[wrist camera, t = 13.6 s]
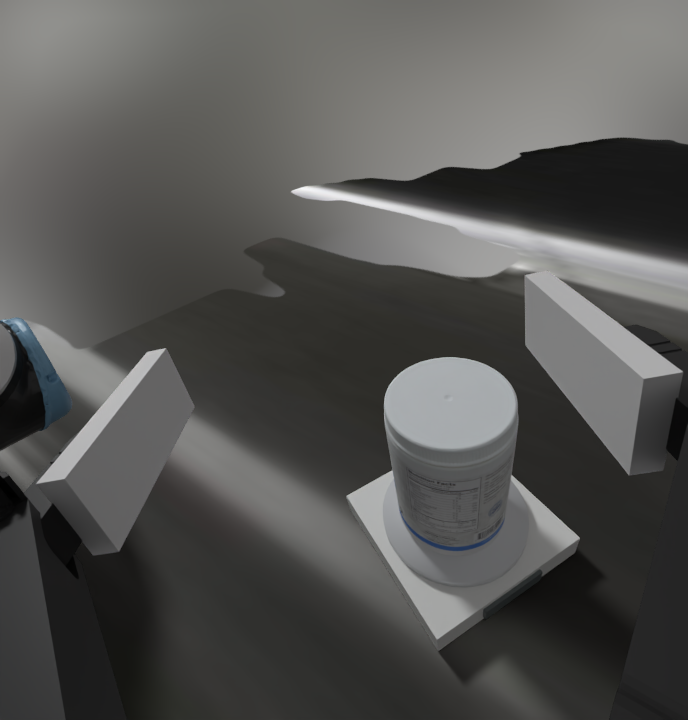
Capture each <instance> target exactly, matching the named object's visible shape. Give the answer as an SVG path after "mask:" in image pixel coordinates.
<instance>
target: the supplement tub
mask: <svg viewBox="0 0 688 720" xmlns="http://www.w3.org/2000/svg"><path fill="white" fill-rule="evenodd" d="M384 421H385V428H386V435H387V441H388V446H389V452H390V458H391V464H392V469H393V476H394V482H395V488H396V494H397V500H398V506H399V511H400V515H401V519H402V521H403V524H404V525H405V527H406V529H407V530H408V532H409V533H410V534H411V535H412V537H413V538H414V539H415V540H416V541H418V542H419V543H420V544H422V545H423V546H425V547H426V548H428V549H430V550H432V551H434V552H437V553H441V554H445V555H451V556H462V555H469V554H472V553H476V552H478V551H480V550H482V549H484V548H486V547H487V546H488V545H490V544H491V543H492V542H493V541H494V540H495V539H496V538H497V536H498V535H499V533H500V532H501V530H502V528H503V525H504V522H505V517H506V509H507V502H508V495H509V489H510V481H511V474H512V466H513V459H514V452H515V445H516V438H517V430H518V401H517V396H516V394H515V391H514V389H513V387H512V386H511V384H510V383H509V382H508V381H507V379H506V378H505V377H504V376H503V375H501V374H500V373H499V372H497V371H496V370H494V369H493V368H491V367H489V366H487V365H485V364H482V363H480V362H477V361H473V360H469V359H464V358H454V357H444V358H435V359H430V360H426V361H423V362H420V363H417V364H415V365H413V366H410V367H409V368H407V369H405V370H404V371H402V372H401V373H400V374H399V375H398V376H397V377H396V378H395V379H394V380H393V381H392V382H391V384H390V385H389V387H388V389H387V391H386V394H385V399H384Z"/></svg>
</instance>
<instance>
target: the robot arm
mask: <svg viewBox="0 0 688 720" xmlns="http://www.w3.org/2000/svg"><path fill="white" fill-rule="evenodd" d="M525 345H526V346H527V348H528V349H529V350H530V351H531V353H532V354H533V355H534V357H535V358H536V359H537V360H538V362H539V363H540V364H541V365H542V367H543V368H544V369H545V370H546V372H547V373H548V374H549V375H550V377H551V378H552V379H553V380H554V382H555V383H556V384H557V385H558V387H559V388H560V389H561V390H562V392H563V393H564V394H565V395H566V397H567V398H568V399H569V400H570V402H571V403H572V404H573V405H574V407H575V408H576V409H577V411H578V412H579V413H580V414H581V416H582V417H583V418H584V419H585V421H586V422H587V423H588V424H589V426H590V427H591V428H592V429H593V431H594V432H595V433H596V434H597V436H598V437H599V438H600V439H601V441H602V442H603V443H604V444H605V446H606V447H607V448H608V449H609V451H610V452H611V453H612V454H613V456H614V457H615V458H616V459H617V461H618V462H619V463H620V465H621V466H622V467H623V468H624V470H625V471H626V472H627V473H628V475H635V474H642V473H649V472H655V471H662V470H664V465H665V460H666V455H667V451H668V452H669V453H670V454H671V455H672V456H673V457H674V458H675V459H676V460H677V461H678V463H677V466H676V470H675V474H674V478H673V482H672V486H671V489H670V493H669V497H668V501H667V505H666V509H665V513H664V516H663V520H662V524H661V528H660V532H659V536H658V539H657V543H656V547H655V551H654V555H653V559H652V562H651V566H650V570H649V574H648V578H647V582H646V586H645V589H644V593H643V597H642V601H641V605H640V609H639V612H638V616H637V620H636V624H635V628H634V632H633V635H632V639H631V643H630V647H629V651H628V655H627V659H626V662H625V666H624V670H623V674H622V678H621V681H620V685H619V688H618V690H617V693H616V696H615V700H614V703H613V707H612V711H611V715H610V718H609V720H688V353H687V352H686V351H682V350H681V348H680V347H679V346H677V345H676V344H674V343H670V340H668V339H667V338H665V337H664V336H662V335H661V334H660V333H658V332H657V331H654V330H651V329H648V328H645V327H642V326H639V325H632V326H626V327H623V326H621V325H620V324H619V323H617V322H616V321H615V320H613V319H612V318H611V317H609V316H608V315H607V314H605V313H604V312H603V311H601V310H600V309H599V308H597V307H596V306H595V305H593V304H592V303H591V302H589V301H588V300H586V299H585V298H584V297H582V296H581V295H580V294H578V293H577V292H576V291H574V290H573V289H572V288H570V287H569V286H568V285H566V284H565V283H564V282H562V281H561V280H560V279H558V278H557V277H556V276H554V275H553V274H552V273H550V272H549V271H543V272H538V273H533V274H528V275H525ZM71 407H72V400H71V397H70V395H69V393H68V392H67V390H66V388H65V386H64V384H63V383H62V381H61V379H60V378H59V376H58V374H57V373H56V371H55V369H54V367H53V366H52V364H51V362H50V360H49V358H48V357H47V355H46V353H45V352H44V350H43V348H42V347H41V345H40V343H39V342H38V340H37V338H36V337H35V335H34V334H33V332H32V330H31V329H30V327H29V326H28V324H27V323H26V322H25V321H24V320H23V319H21V318H12V319H8V320H7V319H4V320H1V321H0V451H1V450H3V449H5V448H7V447H8V446H10V445H12V444H14V443H16V442H18V441H20V440H22V439H24V438H26V437H27V436H29V435H31V434H33V433H35V432H37V431H42V430H44V429H46V428H47V427H48V426H49V425H50V424H51V423H53V422H55V421H56V420H58V419H60V418H62V417H63V416H65V415H66V414H67V413H68V412H69V411H70V409H71ZM194 407H195V406H194V404H193V402H192V400H191V398H190V396H189V394H188V392H187V390H186V388H185V386H184V384H183V382H182V380H181V378H180V375H179V373H178V371H177V369H176V367H175V365H174V363H173V361H172V359H171V357H170V355H169V353H168V351H167V349H166V348H165V349H160V350H155V351H150V352H147V353H146V354H145V355H144V357H143V358H142V359H141V360H140V361H139V362H138V364H137V365H136V366H135V367H134V368H133V370H132V371H131V372H130V373H129V374H128V375H127V377H126V378H125V379H124V380H123V381H122V383H121V384H120V385H119V386H118V387H117V388H116V390H115V391H114V392H113V393H112V394H111V396H110V397H109V398H108V399H107V400H106V402H105V403H104V404H103V405H102V406H101V407H100V409H99V410H98V411H97V412H96V413H95V415H94V416H93V417H92V418H91V419H90V420H89V422H88V423H87V424H86V425H85V426H84V428H83V429H82V430H81V431H80V432H79V433H78V434H76V435H75V436H74V437H73V438H71V439H70V440H69V441H68V442H67V443H66V445H65V446H64V447H63V448H62V449H61V450H60V452H59V454H58V455H56V456H55V457H54V459H53V460H52V461H51V462H50V463H51V464H50V465H48V466H47V467H46V468H45V469H44V470H43V471H42V473H41V474H40V475H39V476H38V477H37V478H36V480H35V481H34V482H33V483H32V484H31V485H30V487H29V488H28V489H27V490H26V491H25V492H24V493H23V492H22V491H21V489H20V488H19V487H18V486H17V485H16V483H15V482H14V481H13V480H12V479H11V477H10V476H9V475H8V474H7V473H6V472H1V471H0V720H127V718H126V715H125V712H124V708H123V705H122V701H121V698H120V694H119V691H118V688H117V684H116V681H115V677H114V674H113V670H112V667H111V663H110V660H109V657H108V653H107V650H106V646H105V643H104V639H103V636H102V632H101V629H100V626H99V622H98V619H97V615H96V612H95V608H94V605H93V602H92V598H91V595H90V591H89V588H88V584H87V581H86V577H85V574H84V571H83V567H82V564H81V562H80V561H79V559H78V558H77V557H76V556H75V554H74V553H75V552H76V550H77V548H78V547H79V545H80V543H81V542H83V544H84V545H85V546H86V547H87V549H88V550H89V551H90V552H91V554H92V555H93V556H95V555H101V554H108V553H115V552H119V551H120V549H121V547H122V545H123V543H124V541H125V539H126V538H127V536H128V534H129V532H130V530H131V528H132V526H133V524H134V522H135V520H136V518H137V516H138V515H139V513H140V511H141V509H142V507H143V505H144V503H145V501H146V499H147V497H148V495H149V493H150V492H151V490H152V488H153V486H154V484H155V482H156V480H157V478H158V476H159V474H160V472H161V470H162V468H163V467H164V465H165V463H166V461H167V459H168V457H169V455H170V453H171V451H172V449H173V447H174V445H175V444H176V442H177V440H178V438H179V436H180V434H181V432H182V430H183V428H184V426H185V424H186V422H187V421H188V419H189V417H190V415H191V413H192V411H193V409H194Z"/></svg>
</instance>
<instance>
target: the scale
mask: <svg viewBox="0 0 688 720" xmlns="http://www.w3.org/2000/svg"><path fill="white" fill-rule="evenodd" d="M347 500H348V504H349V507H350V510H351V512H352V513H353V515H354V517H355V518H356V520H357V521H358V523H359V525H360V526H361V528H362V530H363V531H364V533H365V534H366V536H367V538H368V539H369V541H370V542H371V544H372V546H373V547H374V549H375V551H376V552H377V554H378V555H379V557H380V559H381V560H382V562H383V563H384V565H385V567H386V568H387V570H388V572H389V573H390V575H391V576H392V578H393V580H394V581H395V583H396V584H397V586H398V588H399V589H400V591H401V593H402V594H403V596H404V597H405V599H406V601H407V602H408V604H409V605H410V607H411V609H412V610H413V612H414V614H415V615H416V617H417V618H418V620H419V622H420V623H421V625H422V626H423V628H424V630H425V631H426V633H427V635H428V636H429V638H430V639H431V641H432V643H433V644H434V646H435V647H436V649H437V651H439V650H441V649H442V648H443V647H445V646H446V645H448V644H449V643H450V642H452V641H453V640H455V639H456V638H457V637H459V636H460V635H461V634H463V633H464V632H466V631H467V630H468V629H470V628H471V627H473V626H474V625H475V624H477V623H478V622H480V621H481V620H482V619H485V620H486V619H487V618H489V617H490V616H491V615H493V614H494V613H496V612H497V611H498V610H500V609H501V608H502V607H504V606H505V605H507V604H508V603H509V602H511V601H512V600H514V599H515V598H516V597H518V596H519V595H521V594H522V593H523V592H525V591H526V590H527V589H529V588H530V587H532V586H533V585H534V584H536V583H537V582H539V581H540V580H541V577H542V576H543V575H545V574H546V573H548V572H549V571H550V570H552V569H553V568H555V567H556V566H557V565H559V564H560V563H561V562H563V561H564V560H566V559H567V558H568V557H570V556H571V555H573V554H574V553H575V551H576V548H577V546H578V543H579V540H580V538H579V537H578V536H577V535H576V534H575V533H574V532H573V531H572V530H571V529H569V528H568V527H567V526H566V525H565V524H564V523H563V522H562V521H561V520H560V519H559V518H558V517H556V516H555V515H554V514H553V513H552V512H551V511H550V510H549V509H548V508H547V507H546V506H545V505H543V504H542V503H541V502H540V501H539V500H538V499H537V498H536V497H535V496H534V495H533V494H532V493H530V492H529V491H528V490H527V489H526V488H525V487H524V486H523V485H522V484H521V483H520V482H519V481H518V480H516V479H515V478H514V477H513V476H512V475H511V481H510V489H509V495H508V502H507V509H506V517H505V522H504V525H503V528H502V530H501V532H500V533H499V535H498V536H497V538H496V539H495V540H494V541H493V542H492V543H491V544H490V545H488V546H487V547H486V548H484V549H482V550H480V551H478V552H476V553H472V554H469V555H462V556H451V555H445V554H441V553H437V552H434V551H432V550H430V549H428V548H426V547H425V546H423V545H422V544H420V543H419V542H418V541H416V540H415V539H414V538H413V537H412V535H411V534H410V533H409V532H408V530H407V529H406V527H405V525H404V524H403V521H402V519H401V515H400V511H399V506H398V500H397V494H396V488H395V482H394V476H393V470H392V471H390V472H389V473H387V474H385V475H383V476H381V477H380V478H378V479H376V480H374V481H373V482H371V483H369V484H367V485H365V486H364V487H362V488H360V489H358V490H356V491H355V492H353V493H351V494H349V495H347Z"/></svg>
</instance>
